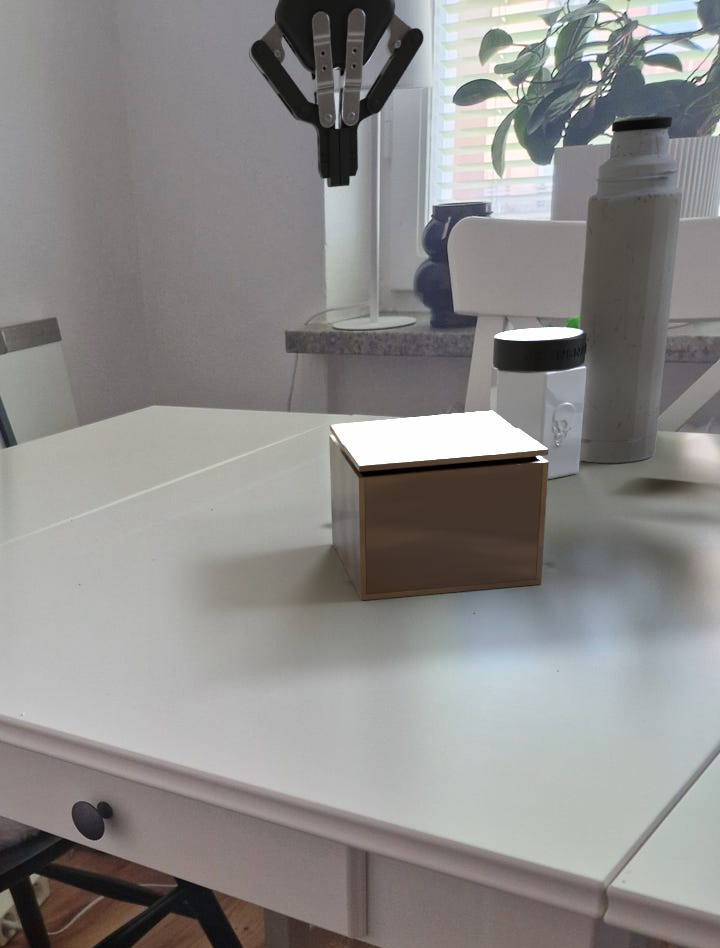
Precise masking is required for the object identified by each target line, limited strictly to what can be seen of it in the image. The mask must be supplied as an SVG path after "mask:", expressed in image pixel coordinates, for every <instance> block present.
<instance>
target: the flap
mask: <svg viewBox="0 0 720 948" xmlns="http://www.w3.org/2000/svg"><path fill="white" fill-rule="evenodd" d="M511 429H515V428H514V427H513V426H511V425H510V424H509V423H508V422H506V421H505V420H504V419H502V418H501V417H500V416H499V415H497V414H496V413H495V412H493V411H490V410H485V411H474V412H464V413H463V412H462V413H461V412H460V413H451V414H450V413H449V414H438V415H428V416H427V415H426V416H416V417H406V418H405V417H404V418H393V419H382V420H380V419H379V420H371V421H370V420H369V421H358V422H357V421H356V422H347V423H337V424H336V423H335V424H329V431H330V433H331V435H333V436H334V437H335V439H336V440H337V442H338V443H339V445H340V446H341V448H342V450H343V451H344V446H343V445H344V444H349V443H361V442H372V441H384V440H395V439H407V438H419V437H430V436H442V435H453V434H465V433H476V432H488V431H499V430H511Z"/></svg>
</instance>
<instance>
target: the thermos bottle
mask: <svg viewBox="0 0 720 948" xmlns="http://www.w3.org/2000/svg"><path fill="white" fill-rule="evenodd" d="M672 123H673V117H672V116H660V115H650V116H649V115H648V116H637V117H631V118H624V119H620V120H617V121H613V122H612V123H611V132H612V137H611V140H610V143H609V156H608V158H607V159H606V160H605V161H604V162H602V163H601V164H600V165H599V166H598V168H597V177H596V178H595V181H596V189H595V190H596V191H595V192H594V193H592V194H590V195H588V197H587V204H586V205H587V206H586V220H585V221H586V222H585V235H584V236H585V237H584V250H583V263H582V275H581V289H580V291H581V292H580V305H579V315H580V317H579V329H580V330H583V331H585V332H586V334H587V336H586V343H587V349H586V354H585V362H584V363H583V364H584V365H585V366H586V368H587V370H586V383H585V395H584V408H583V421H582V434H581V447H580V460H579V461H582V462H587V463H597V464H622V463H624V464H625V463H633V462H638V461H643V460H647V459H650V458H652V457H653V456H654V455H655V453H656V447H657V446H656V443H657V437H658V435H657V434H658V427H659V416H660V408H661V407H660V406H661V397H662V389H663V388H662V387H663V379H664V378H663V377H664V370H665V369H664V368H665V361H666V350H667V343H668V342H667V341H668V332H669V323H670V315H671V314H670V313H671V305H672V304H671V303H672V295H673V285H674V276H675V266H676V257H677V249H678V238H679V237H678V236H679V227H680V220H681V210H682V202H683V201H682V200H683V189H681V188H679V187H676V177H677V172H678V171H679V168H678V160H677V159H676V158H674V157H673V156H672V155H670V154H669V144H670V135H669V128H671V127H672Z"/></svg>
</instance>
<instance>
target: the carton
mask: <svg viewBox="0 0 720 948" xmlns="http://www.w3.org/2000/svg"><path fill="white" fill-rule="evenodd" d="M328 439H329V440H328V441H329V445H328V446H329V473H330V476H329V477H330V505H331V506H330V508H331V543H332V545H333V547H334V549H335V551H336V553H337V556H338V557H339V560H340V561H341V563H342V565H343V567H344V569H345V571H346V573H347V575H348V578H349V579H350V581H351V583H352V585H353V587H354V590H355V592H356V593H357V595H358V597H359V599H360V601H372V600H383V599H393V598H403V597H413V596H414V597H416V596H426V595H437V594H438V595H439V594H448V593H458V592H459V593H460V592H461V593H462V592H471V591H482V590H493V589H504V588H506V589H507V588H513V587H514V588H515V587H527V586H538V585H542V576H543V575H542V573H543V561H544V560H543V559H544V545H545V544H544V541H545V529H546V528H545V527H546V512H547V499H548V498H547V496H548V483H549V482H548V481H549V480H548V466H549V462H548V461H547V460H545V459H544V458H543V457H541V456H545V455H548V449H547V448H546V447H544V446H543V445H541V444H540V443H538V442H537V441H536V440H534V439H533V438H531V437H530V436H528V435H527V434H525V433H524V432H522V431H521V430H520V429H511V430H499V431H488V432H476V433H465V434H453V435H442V436H430V437H419V438H407V439H395V440H384V441H372V442H361V443H349V444H344V445H343V446H344V451H343V450H342V448H341V446H340V445H339V443H338V442H337V440H336V439H335V437H334V436H333V434H330V435H329V436H328Z"/></svg>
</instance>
